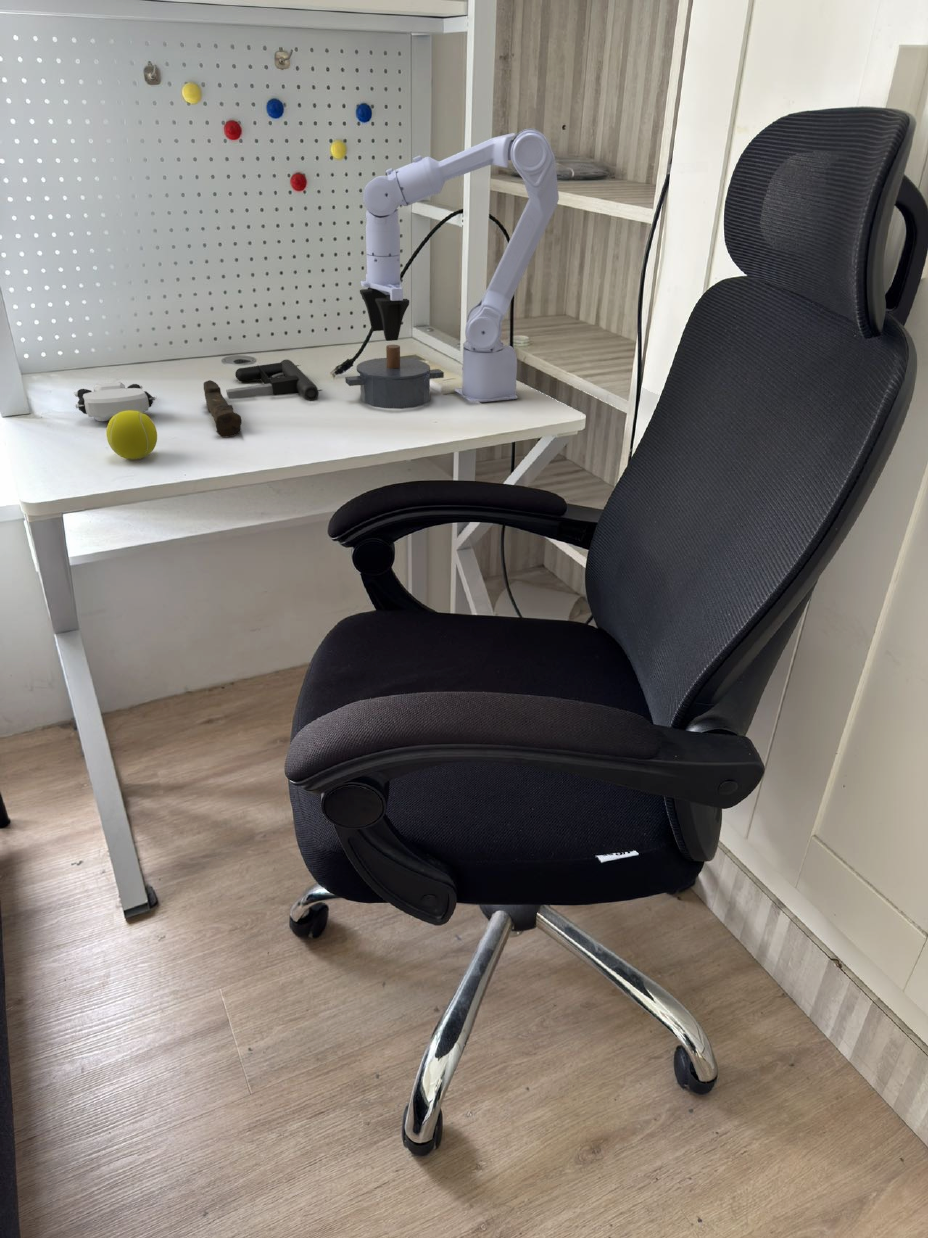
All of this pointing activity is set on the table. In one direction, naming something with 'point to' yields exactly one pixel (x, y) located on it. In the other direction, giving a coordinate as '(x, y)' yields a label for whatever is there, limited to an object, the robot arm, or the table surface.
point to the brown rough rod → (221, 411)
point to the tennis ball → (131, 434)
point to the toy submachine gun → (274, 381)
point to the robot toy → (112, 400)
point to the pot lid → (393, 366)
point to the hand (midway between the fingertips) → (384, 335)
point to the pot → (395, 390)
